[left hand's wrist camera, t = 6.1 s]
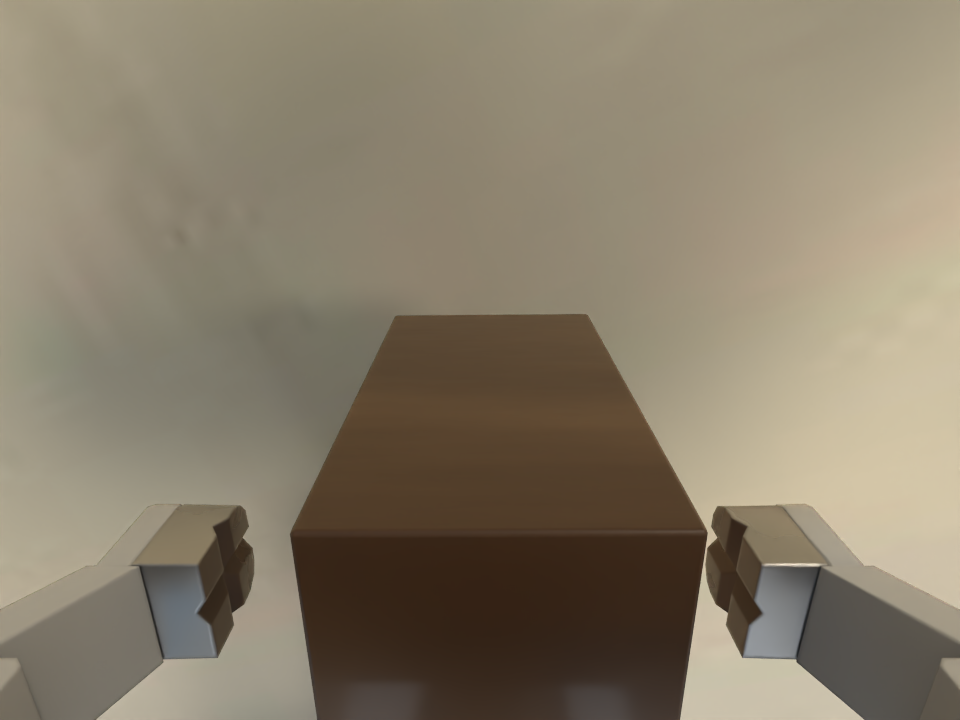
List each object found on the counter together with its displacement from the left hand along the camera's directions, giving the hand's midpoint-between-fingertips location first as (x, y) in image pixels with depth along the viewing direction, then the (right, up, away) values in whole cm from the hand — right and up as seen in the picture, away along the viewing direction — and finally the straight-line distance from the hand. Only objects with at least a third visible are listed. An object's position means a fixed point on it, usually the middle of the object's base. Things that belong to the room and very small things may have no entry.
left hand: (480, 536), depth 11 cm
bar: (0, -8, +9) cm, 11 cm away
